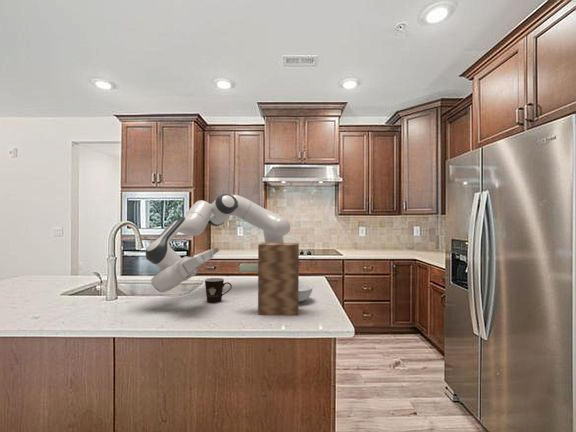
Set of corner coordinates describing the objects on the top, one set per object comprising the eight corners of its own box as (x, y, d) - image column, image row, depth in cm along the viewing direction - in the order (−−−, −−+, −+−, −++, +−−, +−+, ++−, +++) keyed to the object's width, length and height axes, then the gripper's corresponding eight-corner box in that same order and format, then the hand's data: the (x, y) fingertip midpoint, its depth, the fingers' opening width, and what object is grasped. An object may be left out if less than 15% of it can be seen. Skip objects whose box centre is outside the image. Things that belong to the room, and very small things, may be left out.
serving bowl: (309, 308, 152) (309, 292, 152) (262, 305, 156) (262, 289, 156) (315, 297, 173) (315, 283, 173) (273, 295, 177) (273, 281, 177)
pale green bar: (239, 272, 145) (239, 265, 145) (241, 270, 149) (241, 263, 149) (293, 272, 144) (293, 265, 144) (293, 270, 148) (293, 264, 148)
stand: (258, 314, 142) (258, 244, 141) (261, 308, 152) (261, 242, 151) (298, 315, 141) (298, 245, 141) (298, 308, 151) (298, 243, 151)
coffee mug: (200, 302, 161) (200, 280, 161) (212, 298, 169) (213, 277, 169) (220, 305, 156) (221, 282, 156) (232, 301, 163) (232, 279, 163)
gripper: (198, 269, 158) (225, 253, 158) (183, 278, 138) (213, 260, 137) (191, 257, 158) (217, 241, 158) (175, 264, 138) (205, 246, 137)
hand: (215, 250), depth 147 cm, fingers open, 8 cm apart
